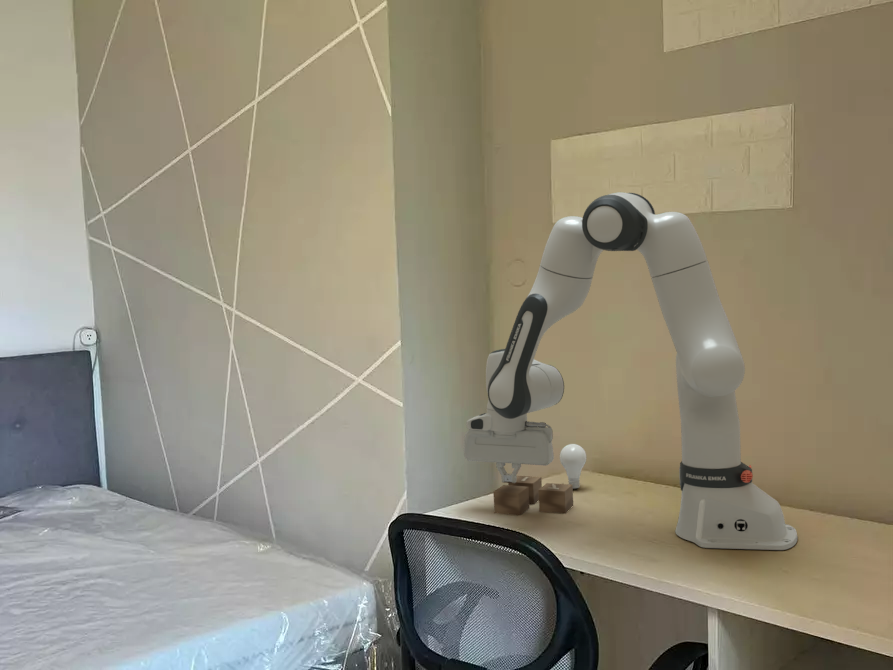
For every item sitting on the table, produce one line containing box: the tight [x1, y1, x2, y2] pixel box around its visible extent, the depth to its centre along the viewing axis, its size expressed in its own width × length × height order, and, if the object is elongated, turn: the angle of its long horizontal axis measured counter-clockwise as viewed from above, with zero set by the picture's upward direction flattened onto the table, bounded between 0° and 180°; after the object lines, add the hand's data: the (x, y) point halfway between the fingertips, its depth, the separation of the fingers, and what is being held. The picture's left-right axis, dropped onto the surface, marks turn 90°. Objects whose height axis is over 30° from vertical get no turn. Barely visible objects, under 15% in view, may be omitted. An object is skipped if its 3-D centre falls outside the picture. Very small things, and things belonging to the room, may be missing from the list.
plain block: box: [493, 484, 530, 516], centre depth 197 cm, size 6×6×5 cm
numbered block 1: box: [507, 475, 543, 505], centre depth 205 cm, size 6×6×5 cm
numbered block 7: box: [538, 482, 574, 514], centre depth 196 cm, size 6×6×5 cm
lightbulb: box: [559, 443, 587, 490], centre depth 212 cm, size 6×6×11 cm
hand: (509, 482), depth 196 cm, fingers closed
